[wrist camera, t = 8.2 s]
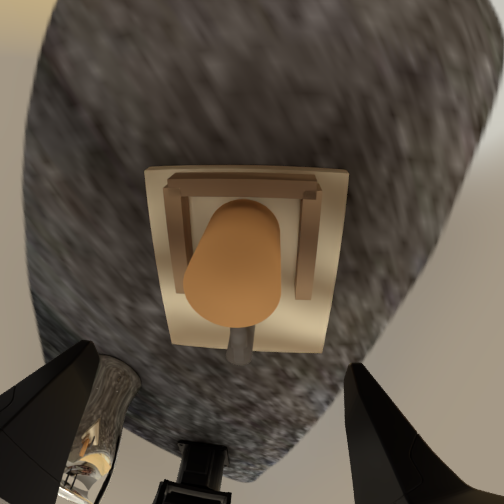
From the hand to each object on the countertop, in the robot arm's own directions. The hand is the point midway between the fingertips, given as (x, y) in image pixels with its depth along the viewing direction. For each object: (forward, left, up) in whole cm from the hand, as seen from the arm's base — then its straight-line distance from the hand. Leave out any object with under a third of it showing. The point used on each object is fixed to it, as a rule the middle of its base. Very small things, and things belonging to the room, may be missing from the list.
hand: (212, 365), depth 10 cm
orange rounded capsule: (0, 0, -11) cm, 11 cm away
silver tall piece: (-17, +14, -12) cm, 25 cm away
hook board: (-3, 0, -12) cm, 12 cm away
